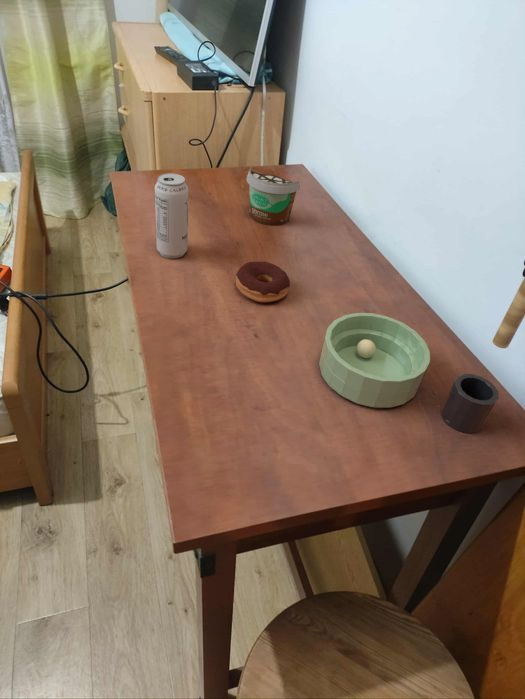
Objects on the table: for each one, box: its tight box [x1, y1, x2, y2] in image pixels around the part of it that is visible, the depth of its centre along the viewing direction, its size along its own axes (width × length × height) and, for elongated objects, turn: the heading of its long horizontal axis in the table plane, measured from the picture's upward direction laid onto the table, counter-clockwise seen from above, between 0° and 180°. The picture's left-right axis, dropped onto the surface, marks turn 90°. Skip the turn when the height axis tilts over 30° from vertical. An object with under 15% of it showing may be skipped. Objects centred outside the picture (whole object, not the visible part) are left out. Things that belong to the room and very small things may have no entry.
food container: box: [246, 166, 301, 226], centre depth 113 cm, size 12×6×10 cm, turn 68°
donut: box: [235, 260, 291, 304], centre depth 93 cm, size 10×10×4 cm
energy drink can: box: [154, 172, 189, 259], centre depth 96 cm, size 6×6×15 cm
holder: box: [440, 373, 500, 434], centre depth 73 cm, size 6×6×6 cm
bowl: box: [318, 312, 431, 409], centre depth 78 cm, size 16×16×6 cm
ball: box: [356, 339, 376, 358], centre depth 81 cm, size 3×3×3 cm
